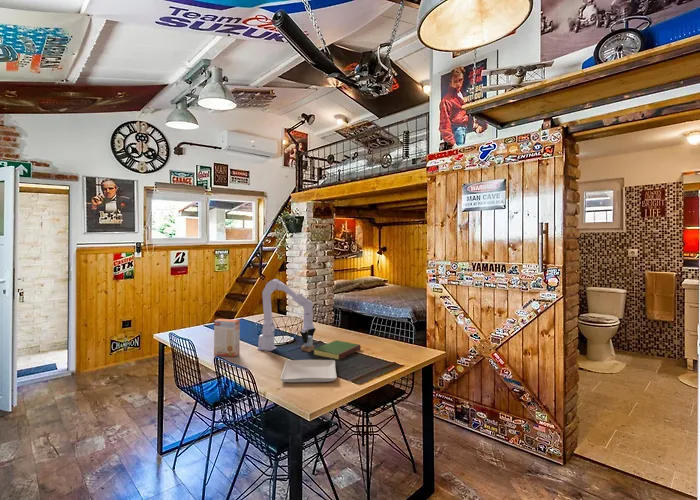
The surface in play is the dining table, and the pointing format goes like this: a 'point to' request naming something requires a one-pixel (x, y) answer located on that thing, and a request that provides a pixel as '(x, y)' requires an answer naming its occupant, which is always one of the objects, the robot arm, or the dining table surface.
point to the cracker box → (227, 337)
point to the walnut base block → (307, 348)
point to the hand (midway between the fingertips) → (307, 341)
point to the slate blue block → (309, 341)
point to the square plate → (309, 371)
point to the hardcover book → (336, 349)
